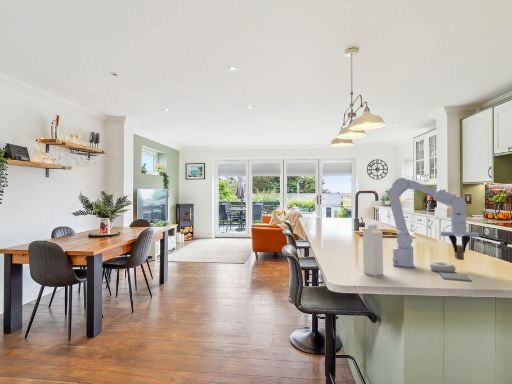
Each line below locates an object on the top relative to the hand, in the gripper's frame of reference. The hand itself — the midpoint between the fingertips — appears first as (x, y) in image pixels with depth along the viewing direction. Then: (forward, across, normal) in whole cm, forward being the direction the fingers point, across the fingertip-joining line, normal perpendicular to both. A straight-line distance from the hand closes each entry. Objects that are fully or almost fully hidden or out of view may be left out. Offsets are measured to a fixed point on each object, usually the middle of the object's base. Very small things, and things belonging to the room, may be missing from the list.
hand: (459, 252), depth 136 cm
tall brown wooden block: (+3, 0, +1) cm, 3 cm away
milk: (+9, -36, -20) cm, 42 cm away
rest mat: (+9, -4, -14) cm, 17 cm away
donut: (+7, -4, 0) cm, 8 cm away
